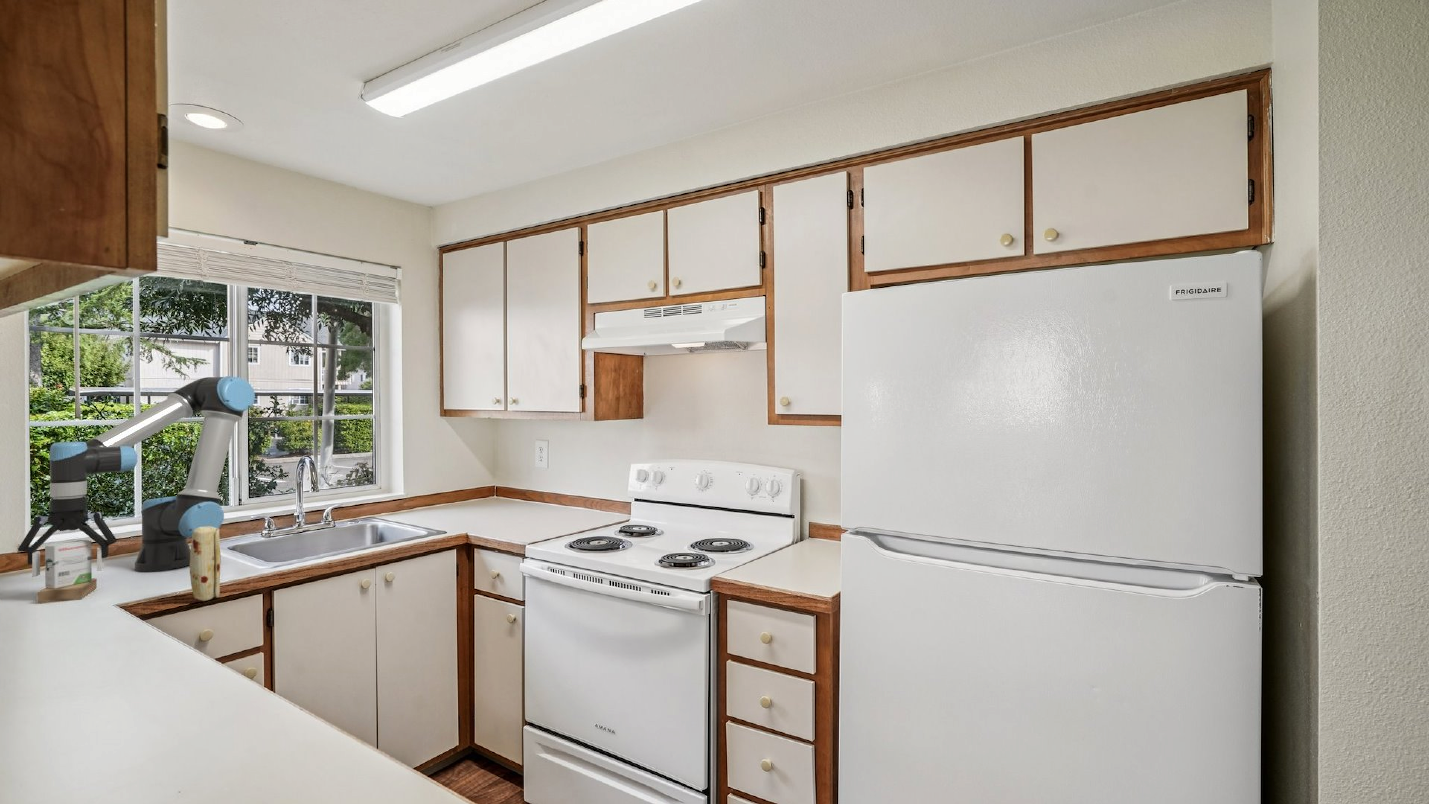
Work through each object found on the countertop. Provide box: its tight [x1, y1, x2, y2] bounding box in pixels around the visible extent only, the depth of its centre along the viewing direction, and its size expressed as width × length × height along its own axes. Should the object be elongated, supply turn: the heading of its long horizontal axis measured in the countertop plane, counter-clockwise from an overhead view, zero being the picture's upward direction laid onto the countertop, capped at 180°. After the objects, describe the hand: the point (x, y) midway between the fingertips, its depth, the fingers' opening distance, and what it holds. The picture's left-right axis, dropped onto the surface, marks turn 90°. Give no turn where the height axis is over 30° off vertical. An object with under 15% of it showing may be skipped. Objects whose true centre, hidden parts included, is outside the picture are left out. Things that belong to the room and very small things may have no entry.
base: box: [37, 577, 98, 605], centre depth 190 cm, size 9×12×3 cm
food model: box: [189, 526, 222, 603], centre depth 186 cm, size 10×7×20 cm
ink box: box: [44, 539, 93, 589], centre depth 190 cm, size 9×5×12 cm, turn 159°
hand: (69, 572), depth 190 cm, fingers open, 13 cm apart
